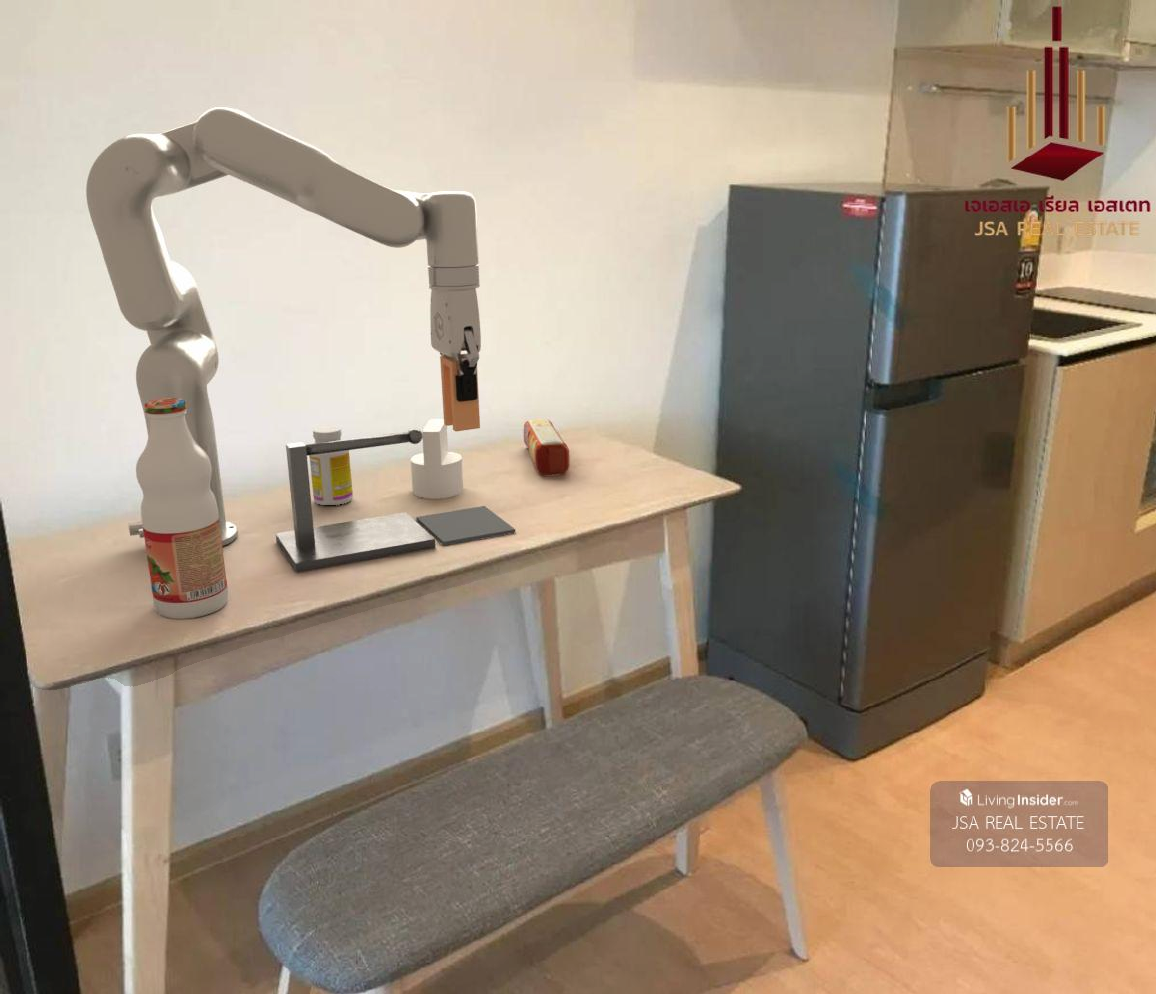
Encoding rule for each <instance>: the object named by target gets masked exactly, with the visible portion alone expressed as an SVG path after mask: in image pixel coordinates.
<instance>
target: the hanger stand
mask: <svg viewBox="0 0 1156 994" xmlns="http://www.w3.org/2000/svg"><path fill="white" fill-rule="evenodd" d="M422 437H423V436H422V431H421V429H418V428H415V427H414V428H411V429H409V430H408V431H402V432H397V433H389V434H381V435H380V434H379V435H373V436H364V437H357V438H349V439H341V440H340V441H332V442H324V443H316V444H314V443H309V444H305V443H304V442H303V441H300V442H292V443H286V444H285V448H286V450H285V451H286V459H287V460H286V461H287V470H288V471H287V472H288V479H289V491H290V499H291V502H290V503H291V508H292V509H291V511H292V521H293V527H294V528H293V529H294V530H290V531H288V530H287V531H281V532H277V533H275V539H276V540H275V541H276V544H277V545H278V547H279V549H280V550H281V552H282V553H283V554H284V556H285V558H286V559H287V560H288V562H289V563H290V565H291V567H292V568H293V570H294V571H295V573H296V574H298V573H304V572H311V571H316V570H320V569H326V568H332V567H333V568H334V567H338V566H343V565H344V566H345V565H347V564H354V563H359V562H366V561H370V560H376V559H382V558H388V557H393V556H398V555H405V554H412V553H417V552H421V551H427V550H428V551H429V550H433V549H436V538H435V537H434V536H433V535H432V534H431V533H429V532H428V531H427V530H426V529H425V528H424V527H423V526H422V525H421V524H420V523H419V522H418V521H417V520H415V519H414V518H413V517H412V516H411V515H410V514H409V513H407V512H406V511H405V512H400V513H394V514H388V515H383V516H375V517H370V518H369V517H367V518H363V519H357V520H356V519H355V520H349V521H345V522H338V523H332V524H325V525H319V526H314V518H313V515H314V514H313V506H312V497H311V496H312V495H311V494H312V493H311V486H310V484H311V483H310V476H309V475H310V474H309V465H308V456H309V455H316V454H324V453H331V452H339V451H346V450H349V451H353V450H354V451H355V450H361V449H367V448H375V447H382V446H384V447H385V446H390V445H398V444H406V443H407V444H408V443H410V444H412V445H417V444H419V443H421V441H423V438H422Z"/></svg>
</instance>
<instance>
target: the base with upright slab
mask: <svg viewBox="0 0 1156 994" xmlns="http://www.w3.org/2000/svg"><path fill="white" fill-rule="evenodd" d="M421 432H422V436H423V437H422V449H423V451H422V452H421V453H418V454H415V455H413V456H412V457H411V458H410V470H411V471H410V472H411V489H412V491H411V492H412V494H413V495H414V496H416V497H417V498H418V497H419V498H422V497H423V498H422V499H431V500H434V499H448V498H451V497H455V496H457V495H460V494H462V493H463V492H464V480H463V479H464V478H463V458H462V457H463V456H462V455H461V454H460V453H456V452H452V451H449V444H448V443H449V442H448V440H449V439H448V426H446V425H445V424H444V418H431V419H428V421H427V423H426V424H425V426H424V428H423V430H422V431H421Z"/></svg>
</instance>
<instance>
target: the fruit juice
mask: <svg viewBox="0 0 1156 994" xmlns="http://www.w3.org/2000/svg"><path fill="white" fill-rule="evenodd" d="M186 409H187V406H186V402H185V400H184V399H180V398H162V399H155V400H151V401H148V402H146V403H145V412H146V416H147V417H148V418H149V423H150V428H149V436H148V435H147V441H146V446H145V448H144V449H143V451H142V452H141V454H140V455H139V457H138V459H137V461H136V466H135V475H136V476H135V477H136V480H137V483H138V484H139V485H138V486H139V487H140V489H141V491H142V501H141V504H140V514H141V515H140V517H141V518H140V519H141V522H142V526H143V532H144V537H143V540H144V545H145V551H146V559H147V566H148V573H149V580H150V585H151V586H150V587H151V593H152V594H151V595H152V600H153V605H154V607H155V610H156V612H157V614H159V615H160V616H161V617H165V618H167V619H176V620H177V619H179V620H180V619H181V620H182V619H185V620H186V619H193V618H200V617H203V616H207V615H210V614H213V613H215V612H217V611H219V610H221V609H222V608H223V607H224V606H226V605H227V604H228V603H227V602H228V598H229V589H228V581H227V575H226V574H227V573H226V565H225V555H224V550H223V546H222V540H221V532H220V524H219V514H218V508H217V503H216V499H215V496H214V494H213V493H212V491H211V489H210V479H211V473H212V468H211V462H210V459H209V457H208V455H207V454H206V452H205V451H204V450H203V449H202V448H201V447H200V446H199V445H198V444H197V443H196V442H195V440H194V439H193V437H192V435H191V433H190V431H189V429H188V426H187V423H186V420H185V414H186V412H187V411H186Z"/></svg>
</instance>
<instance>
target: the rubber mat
mask: <svg viewBox="0 0 1156 994" xmlns="http://www.w3.org/2000/svg"><path fill="white" fill-rule="evenodd" d="M415 519H416V520H415V521H416V522H417V523H418V524H419V525H420V526H421V527H422V528H424V529H425V530H426V531H427V532H428V533H429V534H430V535H431V536H432V537H433V538H434V539H435V540H437V542H439V543H440V544H441V545H442V546H443V547H444V546H449V545H454V544H460V543H466V542H471V541H477V540H481V539H482V538H483V539H487V538H488V537H489V538H494V537H499V535H500V536H504V534H506V535H509V533H511V534H515V533H516V528H515V527H513V526H512V525H510V523H508V522H507V521H505V520H504V519H503V518H501V517H500V516H498V515H497V514H496V513H495V512H493V511H492V510H491V509H490V508H488V507H486V506H485V505H481V506H475V507H469V508H464V509H456V510H451V511H445V512H438V513H433V514H427V515H420V516H416V518H415ZM514 532H515V533H514ZM493 536H494V537H493ZM483 539H482V540H483Z"/></svg>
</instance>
